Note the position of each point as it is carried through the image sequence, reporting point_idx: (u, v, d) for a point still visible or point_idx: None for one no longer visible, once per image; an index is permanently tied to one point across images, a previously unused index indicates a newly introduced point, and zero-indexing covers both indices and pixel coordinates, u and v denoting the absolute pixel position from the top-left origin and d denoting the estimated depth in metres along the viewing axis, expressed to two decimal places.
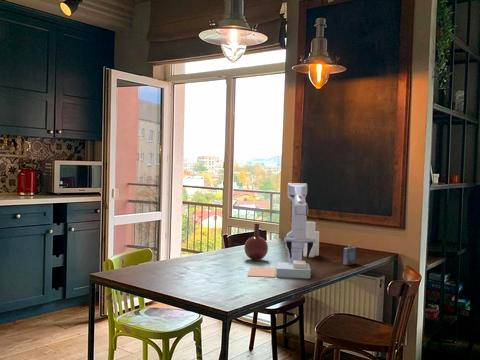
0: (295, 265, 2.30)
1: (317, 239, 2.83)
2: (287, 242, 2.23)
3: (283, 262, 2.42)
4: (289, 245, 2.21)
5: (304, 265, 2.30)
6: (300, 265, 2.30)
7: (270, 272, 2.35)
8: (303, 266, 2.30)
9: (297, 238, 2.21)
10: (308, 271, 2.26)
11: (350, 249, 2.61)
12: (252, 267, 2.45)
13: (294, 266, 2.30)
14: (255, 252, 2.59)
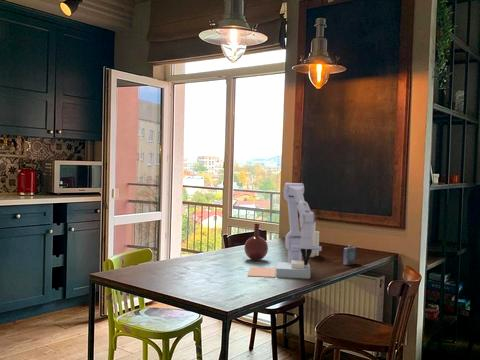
0: (293, 265, 2.30)
1: (317, 239, 2.83)
2: (301, 249, 2.33)
3: (283, 262, 2.42)
4: (304, 252, 2.31)
5: (302, 265, 2.30)
6: (298, 265, 2.30)
7: (270, 272, 2.35)
8: (301, 266, 2.30)
9: (304, 245, 2.31)
10: (308, 271, 2.26)
11: (350, 249, 2.61)
12: (252, 267, 2.45)
13: (292, 266, 2.30)
14: (255, 252, 2.59)
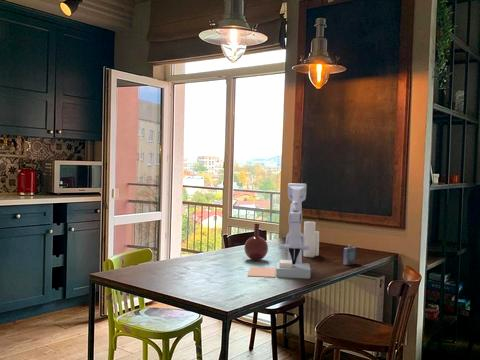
0: (281, 265, 2.30)
1: (317, 239, 2.83)
2: (290, 249, 2.33)
3: None
4: (292, 252, 2.31)
5: (290, 264, 2.30)
6: (286, 264, 2.30)
7: (270, 272, 2.35)
8: (289, 265, 2.30)
9: (292, 245, 2.31)
10: (308, 271, 2.26)
11: (350, 249, 2.61)
12: (252, 267, 2.45)
13: (280, 265, 2.30)
14: (255, 252, 2.59)
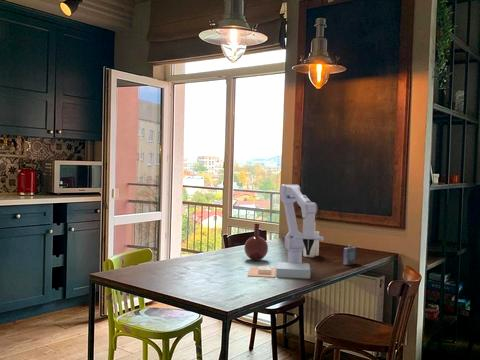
0: (268, 272, 2.31)
1: None
2: (304, 240, 2.34)
3: (283, 262, 2.42)
4: (306, 242, 2.33)
5: (259, 272, 2.31)
6: (263, 272, 2.31)
7: None
8: (260, 271, 2.31)
9: (306, 235, 2.32)
10: (308, 271, 2.26)
11: (350, 249, 2.61)
12: (252, 267, 2.45)
13: (269, 271, 2.31)
14: (255, 252, 2.59)
